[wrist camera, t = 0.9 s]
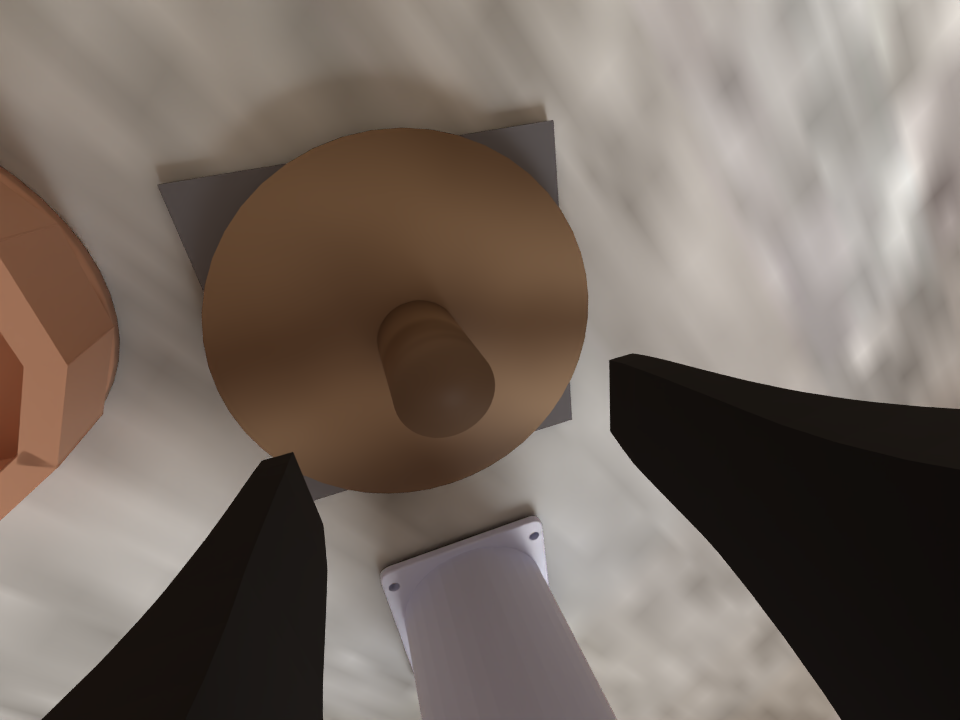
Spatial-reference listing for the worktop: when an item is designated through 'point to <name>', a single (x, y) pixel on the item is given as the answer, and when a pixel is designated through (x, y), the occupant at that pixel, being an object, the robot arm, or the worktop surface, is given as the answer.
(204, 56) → the worktop surface
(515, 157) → the mat
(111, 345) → the bowl
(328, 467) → the lid
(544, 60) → the worktop surface
